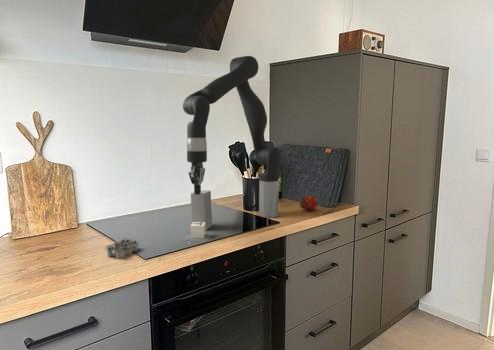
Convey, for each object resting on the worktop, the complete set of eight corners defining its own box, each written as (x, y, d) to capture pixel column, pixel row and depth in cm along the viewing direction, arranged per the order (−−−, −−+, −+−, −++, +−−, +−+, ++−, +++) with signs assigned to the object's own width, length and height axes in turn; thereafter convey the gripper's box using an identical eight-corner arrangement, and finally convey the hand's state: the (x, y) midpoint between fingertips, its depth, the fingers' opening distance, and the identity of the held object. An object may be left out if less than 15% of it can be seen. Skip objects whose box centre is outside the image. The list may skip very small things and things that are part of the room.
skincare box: (206, 231, 150) (206, 193, 148) (190, 229, 152) (189, 192, 149) (213, 225, 158) (212, 189, 156) (197, 224, 160) (197, 189, 157)
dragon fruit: (299, 215, 182) (313, 214, 190) (311, 207, 177) (326, 207, 185) (293, 200, 185) (308, 200, 194) (305, 192, 180) (319, 192, 188)
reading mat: (190, 232, 149) (190, 231, 149) (214, 233, 147) (214, 233, 147) (181, 240, 139) (181, 239, 139) (206, 241, 138) (206, 241, 137)
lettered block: (193, 234, 146) (192, 221, 145) (205, 234, 146) (205, 221, 145) (190, 238, 141) (190, 225, 140) (203, 238, 141) (203, 225, 140)
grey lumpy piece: (120, 260, 119) (119, 248, 119) (103, 256, 122) (102, 244, 122) (142, 249, 129) (141, 238, 128) (125, 246, 132) (125, 235, 131)
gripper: (200, 151, 131) (201, 198, 134) (211, 148, 144) (211, 191, 146) (181, 150, 132) (182, 197, 135) (193, 148, 145) (194, 190, 148)
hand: (197, 194), depth 141 cm, fingers closed
